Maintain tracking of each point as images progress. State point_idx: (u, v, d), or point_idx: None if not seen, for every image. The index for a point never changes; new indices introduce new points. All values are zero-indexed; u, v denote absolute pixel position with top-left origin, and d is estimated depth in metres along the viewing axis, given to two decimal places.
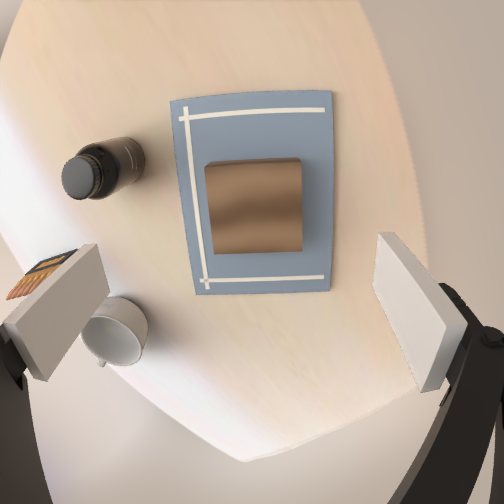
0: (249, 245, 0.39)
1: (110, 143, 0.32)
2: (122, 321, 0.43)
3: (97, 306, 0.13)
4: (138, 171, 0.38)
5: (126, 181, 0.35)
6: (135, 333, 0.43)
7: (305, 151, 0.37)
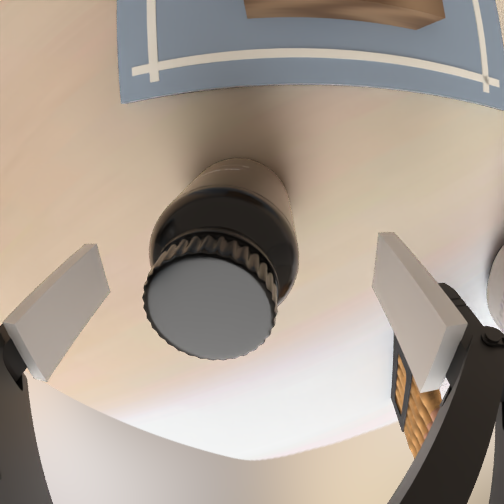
0: None
1: None
2: None
3: (97, 306, 0.13)
4: (257, 166, 0.18)
5: (268, 185, 0.15)
6: None
7: None
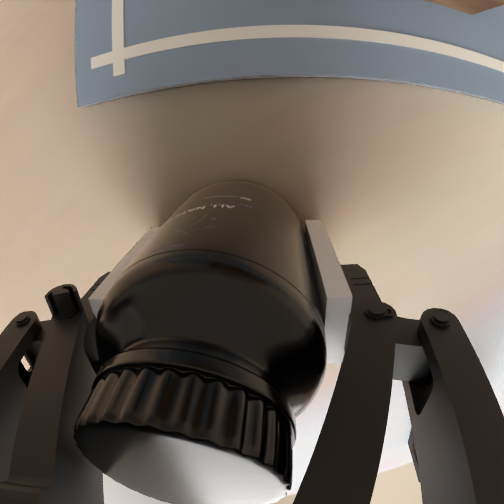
0: None
1: None
2: None
3: None
4: (263, 196, 0.12)
5: (279, 234, 0.10)
6: None
7: None
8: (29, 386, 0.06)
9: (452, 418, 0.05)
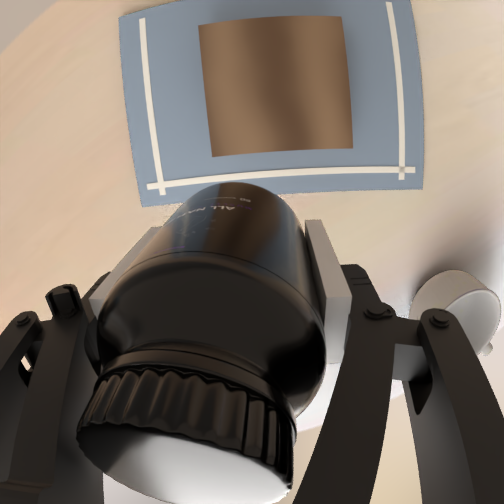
0: (336, 91, 0.21)
1: None
2: None
3: None
4: (263, 198, 0.12)
5: (279, 236, 0.10)
6: (462, 293, 0.25)
7: None
8: (29, 386, 0.06)
9: (452, 418, 0.05)
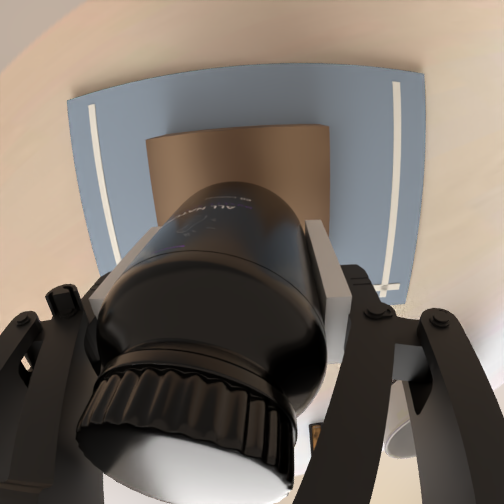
0: None
1: None
2: (406, 418, 0.25)
3: None
4: (263, 197, 0.12)
5: (280, 235, 0.10)
6: None
7: (154, 123, 0.21)
8: (29, 386, 0.06)
9: (452, 418, 0.05)
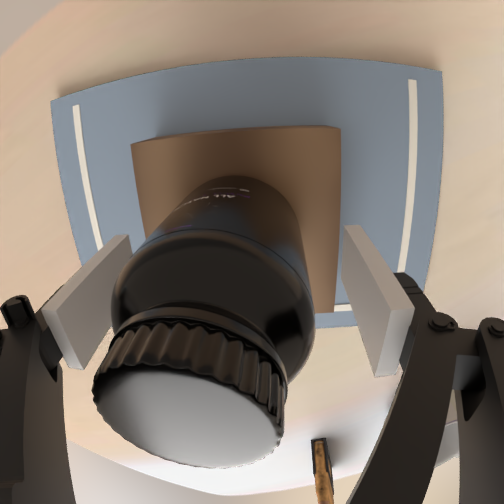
0: (319, 246, 0.17)
1: None
2: None
3: None
4: (260, 189, 0.14)
5: (274, 220, 0.11)
6: None
7: (143, 124, 0.18)
8: None
9: (501, 424, 0.04)
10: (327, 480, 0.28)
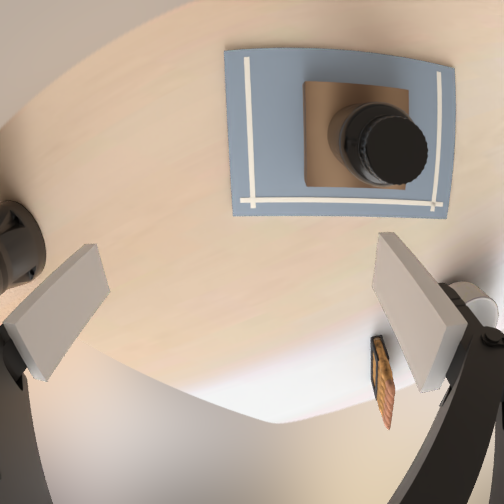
0: None
1: (341, 119, 0.23)
2: None
3: (97, 306, 0.13)
4: None
5: None
6: (470, 299, 0.33)
7: (295, 76, 0.30)
8: None
9: None
10: (389, 364, 0.40)
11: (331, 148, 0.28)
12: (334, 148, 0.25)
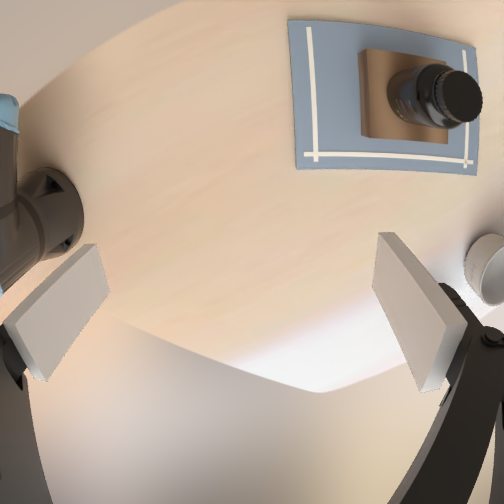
0: None
1: (409, 75, 0.24)
2: (491, 255, 0.36)
3: (97, 306, 0.13)
4: None
5: None
6: (503, 245, 0.35)
7: (351, 46, 0.31)
8: None
9: None
10: None
11: (394, 103, 0.29)
12: (401, 100, 0.26)
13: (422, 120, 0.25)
